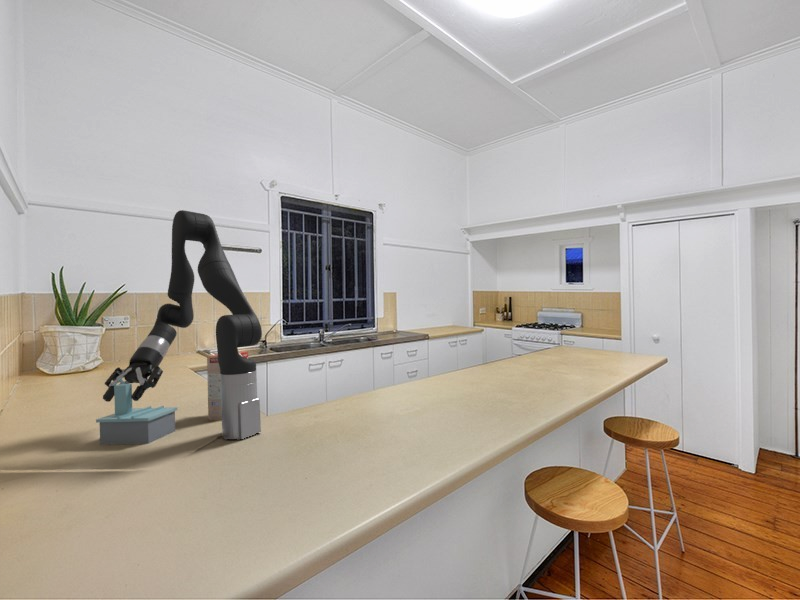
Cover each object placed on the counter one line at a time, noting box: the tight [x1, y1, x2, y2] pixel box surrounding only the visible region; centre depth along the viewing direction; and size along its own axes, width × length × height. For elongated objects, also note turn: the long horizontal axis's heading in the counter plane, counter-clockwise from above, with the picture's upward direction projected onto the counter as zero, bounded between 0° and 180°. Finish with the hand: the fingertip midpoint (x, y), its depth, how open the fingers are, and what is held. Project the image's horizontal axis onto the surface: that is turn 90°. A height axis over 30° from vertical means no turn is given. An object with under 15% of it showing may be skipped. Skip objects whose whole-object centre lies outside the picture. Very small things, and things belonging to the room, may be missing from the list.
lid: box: [95, 383, 178, 423], centre depth 104 cm, size 15×11×9 cm
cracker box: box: [206, 350, 249, 421], centre depth 124 cm, size 14×6×21 cm, turn 168°
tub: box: [99, 411, 176, 445], centre depth 103 cm, size 14×10×6 cm
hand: (120, 399), depth 103 cm, fingers open, 8 cm apart
